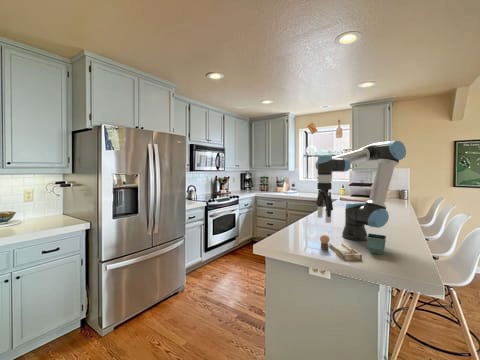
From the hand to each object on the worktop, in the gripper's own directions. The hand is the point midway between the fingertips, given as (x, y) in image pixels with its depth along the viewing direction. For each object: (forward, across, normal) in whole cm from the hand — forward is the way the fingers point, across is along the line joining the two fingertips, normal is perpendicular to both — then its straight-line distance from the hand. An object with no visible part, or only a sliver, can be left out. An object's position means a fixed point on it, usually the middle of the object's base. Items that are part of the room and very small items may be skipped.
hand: (323, 220), depth 138 cm
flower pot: (+17, +5, +27) cm, 32 cm away
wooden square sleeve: (+17, 0, 0) cm, 17 cm away
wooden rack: (+17, +12, +9) cm, 22 cm away
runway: (+17, +1, +9) cm, 19 cm away
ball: (+11, 0, 0) cm, 11 cm away
